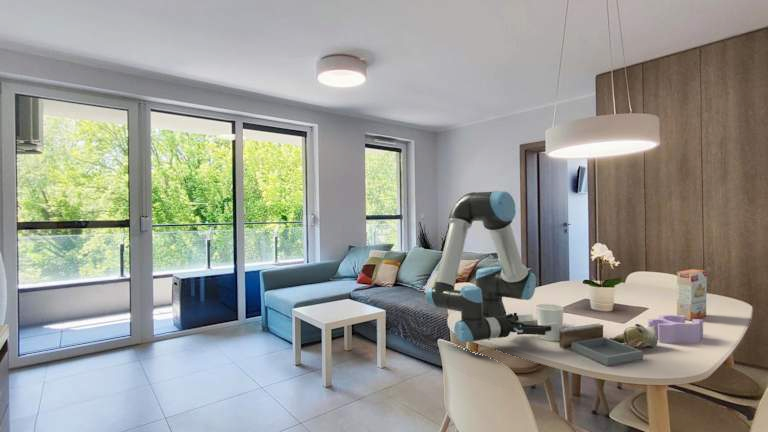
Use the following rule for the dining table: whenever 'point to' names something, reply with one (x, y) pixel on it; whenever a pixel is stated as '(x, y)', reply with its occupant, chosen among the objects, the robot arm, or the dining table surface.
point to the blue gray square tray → (607, 351)
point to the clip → (677, 329)
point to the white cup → (550, 319)
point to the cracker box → (691, 293)
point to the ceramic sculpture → (638, 336)
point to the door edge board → (579, 334)
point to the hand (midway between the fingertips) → (543, 321)
